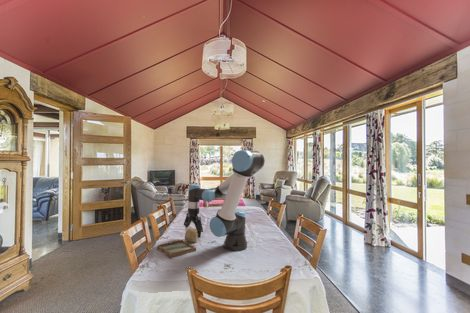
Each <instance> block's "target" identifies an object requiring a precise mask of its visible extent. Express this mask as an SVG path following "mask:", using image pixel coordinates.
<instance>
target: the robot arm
mask: <svg viewBox="0 0 470 313" xmlns="http://www.w3.org/2000/svg"><path fill="white" fill-rule="evenodd" d="M265 161H266V160H265V157H264V155H263V154H262V153H261V152H260V151H258V150H249V149H243V150H242V149H241V150H240V149H239V150H238V151H236V152H235V153H234V154H233V155H232V158H231V166H232V169H231V171H232V172H233V173H232V174H231V175H229V176H228V177H227V178H225V179H224V180H223V181H222V182H221V183H220V184H219V185H217V186H216V187H211V188H201V185H200V184H197V183H191V184H189V185H188V194H187V195H188V196H187V197H188V199H187V200H188V201H187V213H186V217H185V219H184V222H183V226H184V227H185V231H184V232H185V234H186V231H187V230H188V229H189V228H190V227H191V226H190V224H191V223H193V224H194V226H195V229H196V230H197V232H196V242H195V243H196V244H198V243H201V236H202V233H204V229H203V223H202V219H201V218H202V217H201V216H199V214H200V201H204V202H209V203H210V202H212V201H214V200H218V199H223V198H224V199H223V202H222V206H221V208H220V209H218V210H217V212H216V215H215V216H213V217H212V218H211V219H210V220H209V229H210V232H211V233H212V234H213V235H214V236H215V237H217V238H221V237H225V239H224V241H223V247H224V249H225V250H226V249H227V250H229V251H244V250H246V249H247V248H248V242H247V238H246V212H245V211H243V210H238V206H239V203H240V201H241V198H242V195H243V194H244V190H245V187H246V184H247V181H248V179H250V178H252V176H253V175H255V174H256V173H258V172H259V171H260V170H262V169H263V168H264V165H265ZM185 234H184V235H185Z"/></svg>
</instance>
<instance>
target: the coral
mask: <svg viewBox="0 0 470 313" xmlns="http://www.w3.org/2000/svg"><path fill="white" fill-rule="evenodd" d="M189 227H190V228H189V229H188V230H187V231H186V234H184V241H185V242H188V243H190V244H191V243H192V244H193V243H196V232H197V230H196V228H193V227H191V226H189Z"/></svg>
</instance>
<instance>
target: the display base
mask: <svg viewBox="0 0 470 313" xmlns="http://www.w3.org/2000/svg"><path fill="white" fill-rule="evenodd" d="M156 249H157V250H158V251H159V252H160V253H162V254H164V255H165V256H166V257H167V258H169V259H173V258H177V257H179V256H180V257H181V256H183V255H188V254H191V253H195V252H196V251H197V247H196V246H194V245H192V244H191V243H190V242H188V241H186V240H185V239H184V240H183V239H179V240H174V241H169V242H166V243H165V242H164V243H161V244H158V245H156Z"/></svg>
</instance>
